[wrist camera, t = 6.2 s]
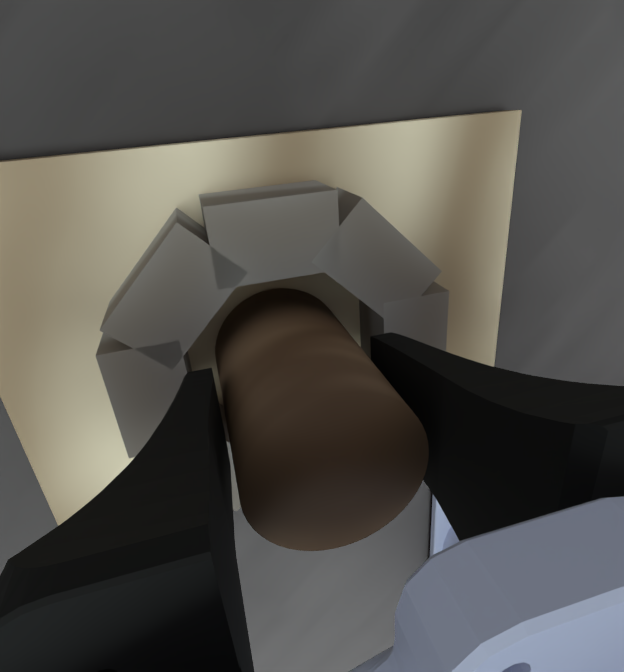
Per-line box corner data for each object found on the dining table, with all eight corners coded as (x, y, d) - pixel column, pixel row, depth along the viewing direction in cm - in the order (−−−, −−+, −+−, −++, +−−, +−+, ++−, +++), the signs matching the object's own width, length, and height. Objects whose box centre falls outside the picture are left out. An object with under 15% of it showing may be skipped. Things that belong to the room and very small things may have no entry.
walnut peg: (343, 284, 14) (441, 380, 9) (337, 395, 16) (416, 531, 11) (211, 292, 13) (234, 405, 8) (218, 410, 15) (242, 567, 10)
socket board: (504, 110, 14) (573, 108, 12) (475, 425, 20) (518, 469, 17) (-84, 168, 11) (-156, 183, 9) (71, 526, 16) (53, 597, 14)
